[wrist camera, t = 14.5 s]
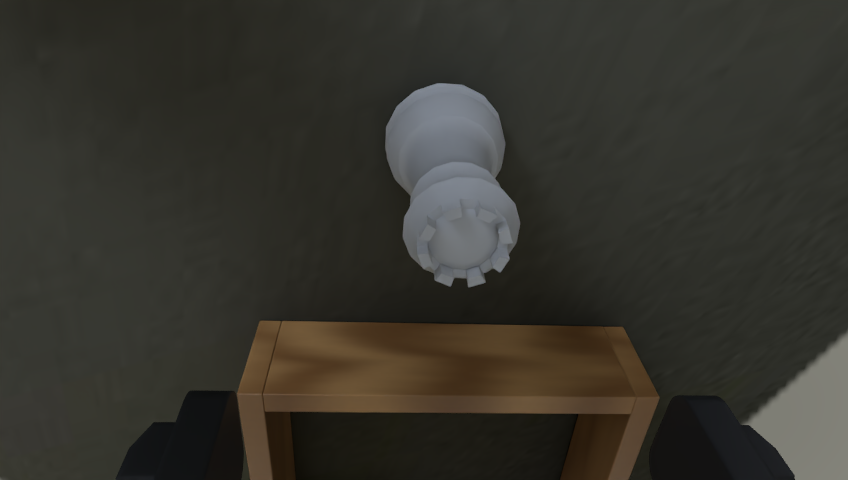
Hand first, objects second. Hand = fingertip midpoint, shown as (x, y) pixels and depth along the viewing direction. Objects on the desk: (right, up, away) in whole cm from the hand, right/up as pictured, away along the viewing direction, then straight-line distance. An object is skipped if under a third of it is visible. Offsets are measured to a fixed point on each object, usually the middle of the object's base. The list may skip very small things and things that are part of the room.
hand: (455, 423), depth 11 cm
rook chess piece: (0, +7, +11) cm, 14 cm away
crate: (0, -6, +20) cm, 21 cm away
